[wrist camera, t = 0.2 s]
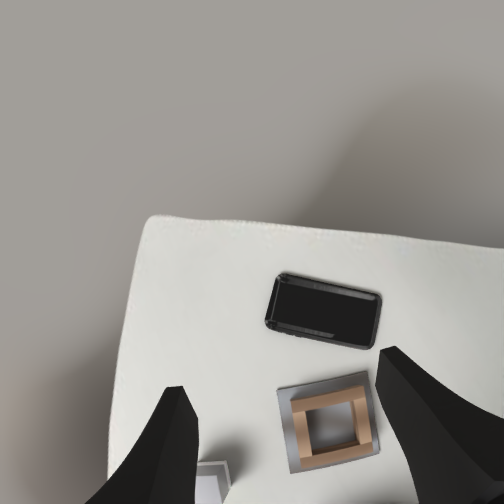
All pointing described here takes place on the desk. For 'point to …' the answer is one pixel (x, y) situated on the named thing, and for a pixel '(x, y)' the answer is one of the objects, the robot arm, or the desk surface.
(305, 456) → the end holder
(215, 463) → the connector plug
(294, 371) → the desk surface
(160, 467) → the robot arm
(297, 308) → the phone
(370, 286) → the desk surface
